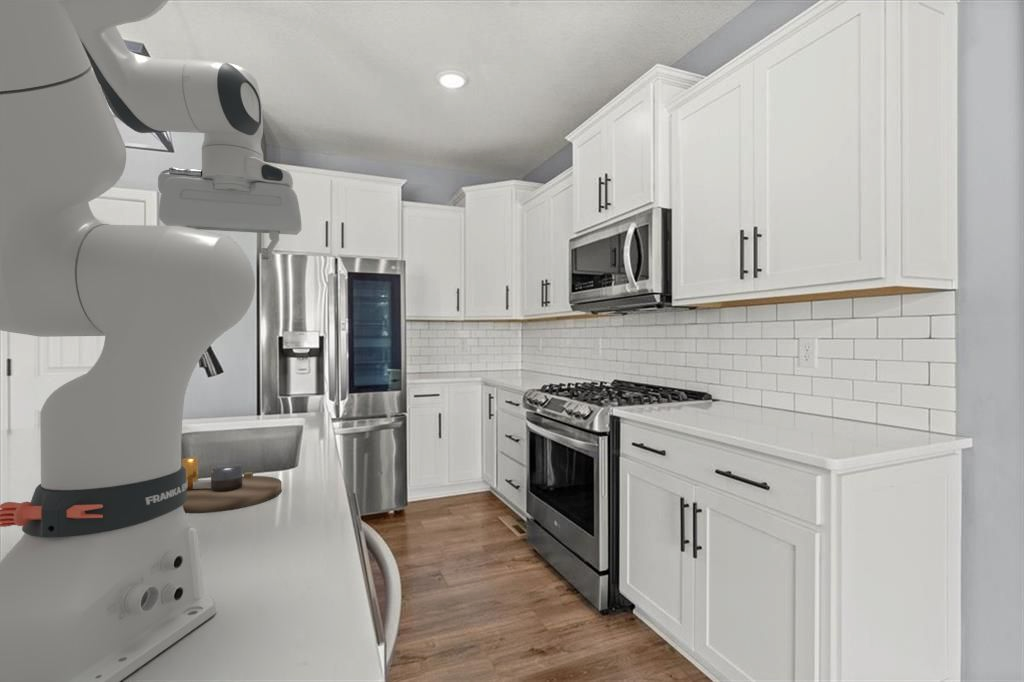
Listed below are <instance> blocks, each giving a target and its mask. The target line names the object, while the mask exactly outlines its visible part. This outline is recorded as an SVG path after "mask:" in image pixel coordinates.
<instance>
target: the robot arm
mask: <svg viewBox="0 0 1024 682" xmlns="http://www.w3.org/2000/svg"><path fill="white" fill-rule="evenodd" d="M169 1H170V0H0V331H1V332H8V333H12V334H20V335H21V334H22V335H28V336H33V337H39V338H41V337H42V338H44V337H45V338H47V337H51V338H52V337H104V343H103V347H102V350H101V353H100V355H99V357H98V359H97V361H96V362H95V364H93V366H92V367H91V368H90V369H89V370H88V371H87V372H86V373H83V374H82V375H80V376H77V377H76V378H74V379H72V380H70V381H67V382H65V383H64V384H62V385H61V386H59V387H58V388H56V389H55V390H54V391H53V392H52V393H50V394H49V396H48V397H47V398H46V400H45V401H44V403H43V405H42V408H41V410H40V415H39V418H40V426H39V427H40V429H39V430H40V432H39V433H40V484H38V485H37V486H36V488H35V489H34V492H33V494H32V497H31V500H30V501H23V502H16V501H15V502H14V501H13V502H12V501H6V502H3V503H1V504H0V528H3V527H4V528H6V527H11V526H17V527H21V531H22V532H23V535H22V537H20V539H19V540H18V541H17V543H16V544H15V545H13V547H12V548H11V549H10V550H9V551H8V552H7V553H6V555H5V556H3V558H2V559H1V560H0V682H121V681H122V680H123V679H125V678H127V677H128V676H129V675H131V674H132V673H134V672H135V671H137V670H138V669H140V668H141V667H143V666H144V665H145V664H146V663H148V662H149V661H150V660H152V659H153V658H155V657H156V656H157V655H159V654H161V653H162V652H163V651H165V650H167V648H169V647H171V646H172V645H173V644H175V643H176V642H178V641H179V640H181V639H182V638H183V637H185V636H186V635H188V633H190V632H191V631H193V630H195V629H196V628H197V627H199V626H200V625H202V624H203V623H204V622H206V621H207V620H209V619H210V618H212V617H213V616H214V615H215V614H216V612H217V610H216V608H217V607H216V602H215V600H214V599H212V598H210V597H209V596H207V595H205V588H204V578H203V569H202V560H201V553H200V543H199V534H198V531H197V529H196V528H195V526H194V525H192V523H191V521H190V520H189V518H188V516H187V514H186V512H185V511H184V509H183V504H184V503H185V502H186V500H187V487H188V480H187V479H186V469H185V468H184V467H183V466H182V433H183V432H182V431H183V414H184V402H185V396H186V391H187V388H188V385H189V382H190V379H191V378H192V375H193V372H194V371H195V369H196V367H197V365H198V363H199V362H200V360H201V358H202V356H203V355H204V354H205V352H207V350H208V349H209V348H210V347H211V345H213V343H214V342H215V341H216V340H217V339H219V338H220V337H221V336H222V335H223V334H224V333H225V332H227V331H229V330H230V329H232V328H234V326H236V325H237V324H238V323H239V322H240V321H241V320H242V319H243V317H244V316H245V315H246V314H247V312H248V310H249V309H250V308H251V304H252V302H253V300H254V295H255V291H256V280H255V274H254V273H255V272H254V270H253V269H254V268H253V266H252V263H251V261H250V259H249V258H248V255H247V254H246V252H245V250H243V248H242V247H241V246H240V245H239V244H238V243H237V241H235V240H234V239H233V238H231V237H230V236H229V235H225V234H223V233H216V232H217V231H218V232H219V231H221V232H238V233H252V234H253V233H255V234H256V233H257V234H268V236H269V237H268V238H269V240H270V242H269V244H268V246H267V247H261V253H262V254H261V260H262V261H273V251H274V249H275V248H276V246H277V244H278V243H279V241H280V235H291V236H295V235H298V234H299V233H300V232H301V231H302V217H301V210H300V204H299V199H298V196H297V193H296V192H295V190H294V189H293V187H294V185H293V184H294V183H293V181H294V180H293V177H292V174H291V173H290V171H289V170H287V169H284V168H282V167H279V166H276V165H273V164H271V163H268V162H266V161H264V152H263V150H262V147H261V145H262V143H261V142H262V138H263V134H264V120H263V118H264V117H263V116H264V115H263V105H262V101H261V100H262V98H261V93H260V89H259V84H258V82H257V79H256V78H255V76H254V75H253V74H252V72H250V71H249V70H247V69H246V68H244V67H242V66H240V65H238V64H234V63H231V62H228V61H227V62H225V61H218V60H208V59H207V60H206V59H205V60H204V59H203V60H202V59H181V58H169V57H168V58H163V57H151V56H148V55H147V56H145V55H143V54H139V53H136V52H133V51H131V50H129V49H128V47H127V44H126V43H125V41H124V39H123V37H122V35H121V32H120V31H119V29H118V27H117V26H121V25H125V24H131V23H137V22H141V21H144V20H147V19H149V18H151V17H153V16H154V15H155V14H157V13H158V12H159V11H161V10H162V9H163V8H165V6H166V4H167V3H168V2H169ZM113 114H114V116H115V117H116V118H118V119H119V121H121V122H122V123H123V124H124V125H126V126H127V127H128V128H130V129H131V130H133V131H134V132H137V133H139V134H154V133H168V132H169V133H171V132H172V133H191V134H192V133H194V134H195V133H196V134H197V133H198V134H204V135H203V137H204V138H203V142H202V145H201V169H194V168H179V167H168V169H164V170H162V171H161V172H160V173H159V174H158V177H157V187H158V191H159V192H160V198H159V207H158V208H159V209H158V217H159V220H160V222H161V223H162V224H163V225H151V224H150V225H143V224H142V225H141V224H138V225H137V224H132V225H131V224H108V223H102V222H101V221H100V220H99V219H97V218H96V216H94V213H93V212H92V210H91V207H90V205H89V203H90V202H92V201H93V200H95V199H97V198H99V197H100V196H102V195H103V194H105V193H106V192H107V191H109V190H110V189H111V188H113V187H114V186H115V185H116V184H117V183H118V182H119V180H120V179H121V177H122V176H123V173H124V171H125V168H126V163H127V147H126V145H125V142H124V140H123V137H122V135H121V133H120V130H119V128H118V126H117V123H116V119H115V118H114V116H113ZM211 231H216V232H211Z"/></svg>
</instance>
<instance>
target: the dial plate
mask: <svg viewBox="0 0 1024 682" xmlns="http://www.w3.org/2000/svg"><path fill="white" fill-rule="evenodd" d="M242 476H243V485H242V486H241V487H239V488H235V489H230V490H222V491H216V490H212V489H211V488H202V489H187V500H186V502H185V503H184V504H183V509H184V511H185V513H189V514H190V513H195V514H196V513H197V514H199V513H213V512H223V511H230V510H231V511H232V510H236V509H241V508H247V507H250V506H255V505H257V504H261V503H264V502H267V501H271V500H272V499H275V498H276V497H277V496H279V495H280V494H281V493H282V490H283V489H282V486H283V485H282V483H283V482H282V481H281V480H280V479H279V478H276V477H273V476H267V475H264V476H263V475H254V472H244V473H243V475H242Z"/></svg>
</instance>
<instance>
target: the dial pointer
mask: <svg viewBox="0 0 1024 682" xmlns="http://www.w3.org/2000/svg"><path fill="white" fill-rule="evenodd" d="M181 465H182V466H183V467H184V468H185V469H186V479H187V480H188V487H187V489H202V488H211V489H212V490H216V491H222V490H230V489H235V488H239V487H241V486H242V485H243V476H244V475H243V464H241V463H227V464H226V463H225V464H219V465H215V466H212V467H210V478H209V479H208V478H207V479H199V458H198V457H197V456H196V457H194V456H192V457H186V458H185V457H184V458H181Z"/></svg>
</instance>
